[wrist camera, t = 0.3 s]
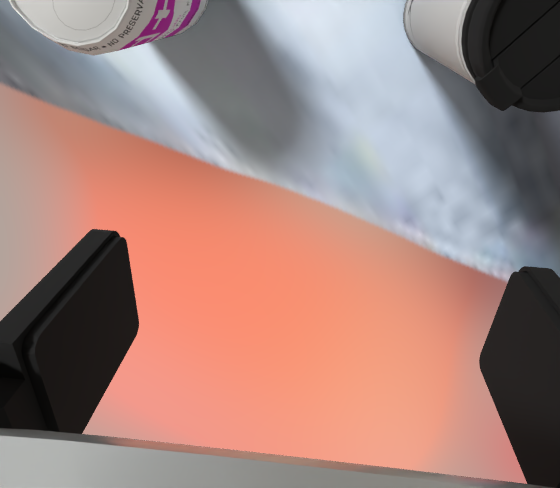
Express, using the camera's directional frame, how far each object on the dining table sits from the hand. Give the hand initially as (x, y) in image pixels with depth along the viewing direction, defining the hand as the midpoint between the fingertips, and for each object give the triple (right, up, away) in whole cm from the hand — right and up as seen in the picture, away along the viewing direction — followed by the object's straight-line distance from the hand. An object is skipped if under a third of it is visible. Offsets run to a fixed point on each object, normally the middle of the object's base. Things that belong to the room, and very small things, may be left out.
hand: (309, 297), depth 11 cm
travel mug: (+12, +19, +23) cm, 32 cm away
